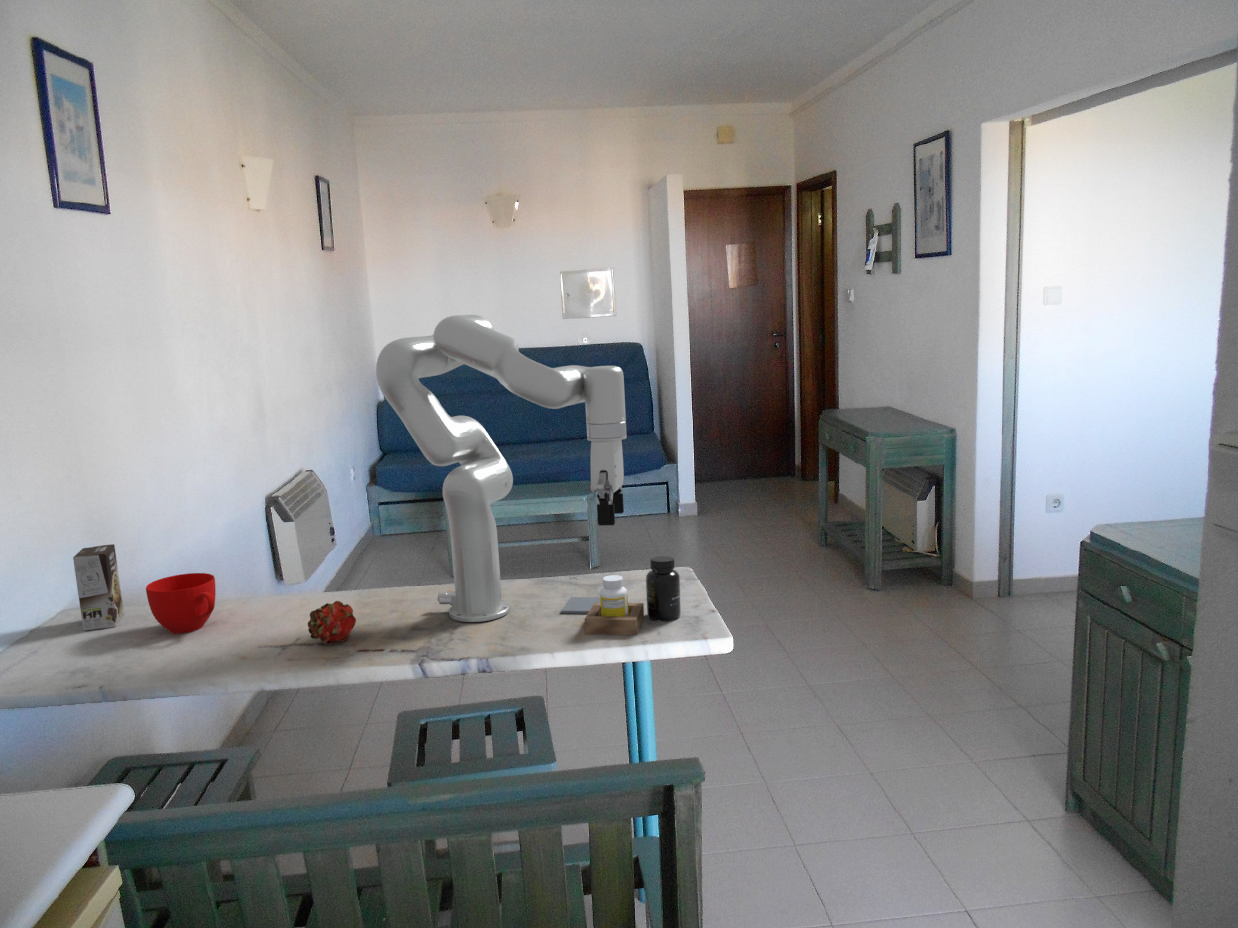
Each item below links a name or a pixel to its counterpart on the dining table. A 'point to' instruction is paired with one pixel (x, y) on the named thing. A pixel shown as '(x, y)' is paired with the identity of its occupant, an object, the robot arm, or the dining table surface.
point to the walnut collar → (614, 621)
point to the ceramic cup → (182, 601)
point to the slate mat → (579, 605)
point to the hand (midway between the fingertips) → (611, 518)
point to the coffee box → (98, 587)
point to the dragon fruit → (331, 622)
